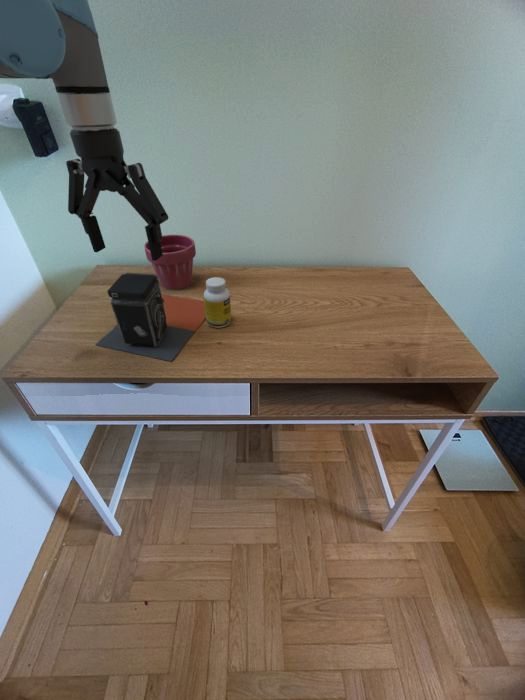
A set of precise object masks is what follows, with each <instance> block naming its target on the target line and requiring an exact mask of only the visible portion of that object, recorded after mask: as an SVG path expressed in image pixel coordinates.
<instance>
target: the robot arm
mask: <svg viewBox="0 0 525 700" xmlns="http://www.w3.org/2000/svg"><path fill="white" fill-rule="evenodd" d="M99 41H100V40H99V34H98V31H97V27H96V25H95V20H94V17H93V13H92V9H91V8H90V4H89V1H88V0H0V79H10V80H11V79H13V80H16V79H35V80H36V79H37V80H49V79H50V80H52V82H53V85H54V88H55V92H56V93H57V96H58V100H59V103H60V107H61V111H62V113H63V117H64V120H65V124H66V125H67V126H69V127H71V129H70V132H69V136H70V139H71V142H72V145H73V148H74V151H75V153H76V156H77V157H79V158H73V159H69V160H66V161H65V162H66V163H65V164H66V168H67V172H68V194H67V195H68V199H67V211H68V213H69V214H70V215H76V216H77V217H78V218H79V219H80V221H81V223H82V227H83V230H84V233H85V234H86V235H87V236H88V238H89V242H90V244H91V247H92V250H93V252H94V253H99V252H101V251H103V250H104V249H106V248H107V247H106V244H105V241H104V237H103V234H102V230H101V228H100V225H99V222H98V218H97V216H96V215H93V214H94V212H93V210H94V208H95V205H96V203H97V201H98V197H99V196H100V192H105V191H109V192H111V193H116V192H117V193H118V194H119V195H120V196H121V197H123V198H125V200H126V201H127V202H128V203H129V205H130V206H131V207H132V208H133V209H134V210H135V211H136V212H137V214H138V215H139V216H140V217H141V218H142V219H143V221H144V222H145V223H146V224H147V225H145V226H144V229H145V234H146V238H147V241H148V243H149V247H150V252H151V256H152V260H154V261H156V260H157V259H159V258H160V257H161V256H163V254H162V249H161V244H160V242H161V241H162V239H163V237H162V236H163V233H162V228H161V224H163V223H165V222H166V221H168V220H169V215H168V213H167V212H166V210H165V208H164V206H163V204H162V203H161V200H160V199H159V197H158V196H157V194H156V192H155V190H154V189H153V187H152V186H151V183H150V181H149V180H148V179H147V177H146V173H145V170H144V169H145V168H144V166H143V164H142V163H140V162H135V163H133V164H127V163H126V161H125V158H124V154H125V153H124V152H125V150H124V145H123V140H122V137H121V133H120V130H118V128H115V125H116V124H117V123H118V120H117V116H116V112H115V109H114V104H113V99H112V95H111V90H110V87H109V84H108V78H107V74H106V70H105V69H106V68H105V64H104V60H103V56H102V50H101V46H100V42H99ZM85 175H86V176H87V179H86V182H85ZM130 179H131V180H130Z"/></svg>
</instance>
